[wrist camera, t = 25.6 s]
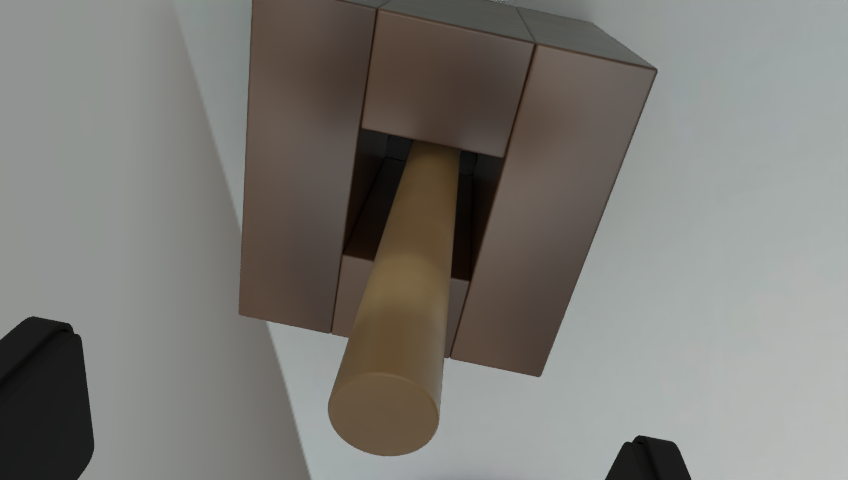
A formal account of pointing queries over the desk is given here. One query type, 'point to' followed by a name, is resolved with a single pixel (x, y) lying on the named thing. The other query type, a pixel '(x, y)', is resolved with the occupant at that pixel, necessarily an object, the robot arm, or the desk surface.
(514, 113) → the stick stand
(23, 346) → the robot arm
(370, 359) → the stick
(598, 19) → the desk surface
